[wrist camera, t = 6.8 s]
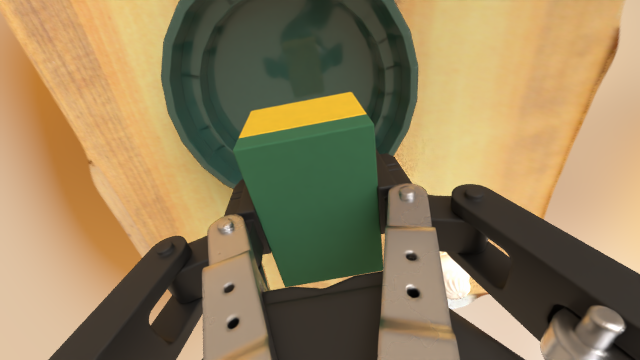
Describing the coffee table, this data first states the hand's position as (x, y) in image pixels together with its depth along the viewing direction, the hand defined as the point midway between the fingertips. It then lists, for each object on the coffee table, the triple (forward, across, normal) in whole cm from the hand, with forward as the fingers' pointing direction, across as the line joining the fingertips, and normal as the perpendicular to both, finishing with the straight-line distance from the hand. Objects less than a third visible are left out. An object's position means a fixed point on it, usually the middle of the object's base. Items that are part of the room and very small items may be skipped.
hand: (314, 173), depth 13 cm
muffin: (+15, -14, +25) cm, 33 cm away
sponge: (+1, 0, 0) cm, 1 cm away
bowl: (+15, +1, -1) cm, 15 cm away
